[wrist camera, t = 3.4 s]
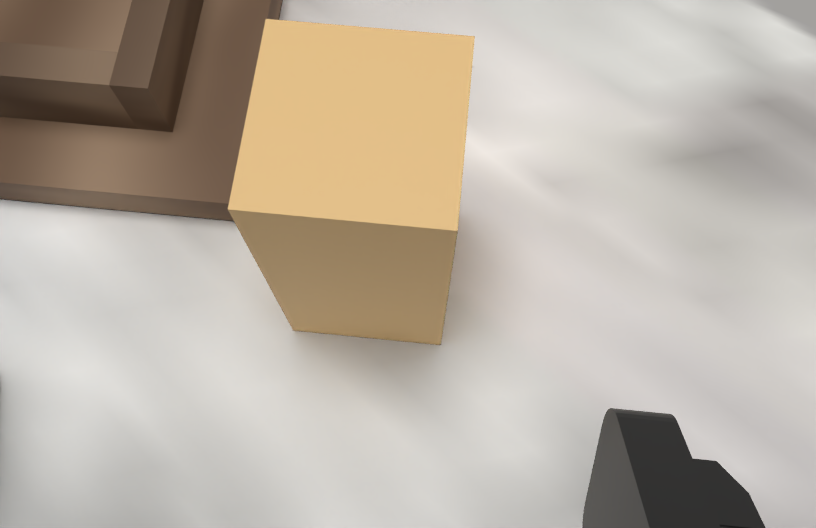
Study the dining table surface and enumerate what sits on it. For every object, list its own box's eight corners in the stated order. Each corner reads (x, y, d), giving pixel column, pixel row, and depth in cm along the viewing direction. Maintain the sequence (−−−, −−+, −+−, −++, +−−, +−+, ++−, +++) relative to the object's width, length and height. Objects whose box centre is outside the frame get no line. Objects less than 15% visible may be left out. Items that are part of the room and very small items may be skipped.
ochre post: (452, 209, 22) (474, 36, 15) (440, 344, 21) (457, 231, 13) (314, 196, 22) (265, 19, 15) (293, 330, 21) (227, 209, 13)
